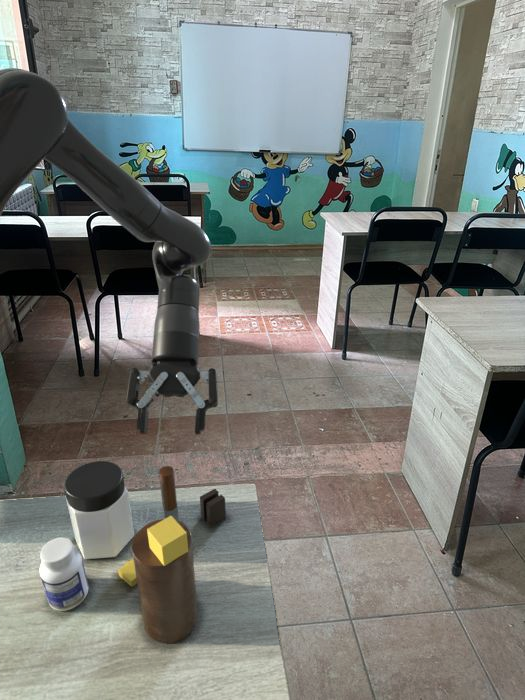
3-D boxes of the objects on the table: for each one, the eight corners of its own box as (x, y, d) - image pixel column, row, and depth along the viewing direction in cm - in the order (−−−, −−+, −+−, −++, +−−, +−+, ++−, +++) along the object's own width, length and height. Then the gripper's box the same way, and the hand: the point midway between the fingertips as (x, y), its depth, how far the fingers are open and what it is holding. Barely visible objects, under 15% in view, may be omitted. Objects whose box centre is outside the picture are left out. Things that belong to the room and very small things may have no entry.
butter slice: (117, 570, 68) (131, 581, 67) (136, 555, 71) (149, 566, 69) (118, 575, 69) (132, 587, 67) (136, 561, 71) (150, 572, 69)
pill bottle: (56, 578, 68) (43, 533, 64) (93, 577, 68) (83, 532, 64) (42, 613, 64) (28, 566, 60) (82, 612, 64) (70, 565, 60)
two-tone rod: (162, 528, 77) (155, 470, 71) (175, 520, 78) (169, 463, 73) (169, 536, 75) (162, 478, 70) (182, 528, 77) (177, 471, 71)
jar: (104, 510, 80) (93, 453, 75) (144, 526, 77) (135, 467, 72) (63, 550, 73) (48, 489, 67) (106, 569, 70) (94, 507, 64)
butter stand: (134, 614, 63) (121, 538, 57) (179, 584, 68) (172, 510, 61) (161, 655, 59) (150, 577, 52) (208, 620, 63) (203, 543, 57)
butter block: (149, 547, 56) (146, 528, 55) (173, 533, 58) (171, 515, 57) (164, 566, 54) (162, 547, 52) (188, 551, 56) (186, 532, 54)
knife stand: (201, 517, 79) (199, 496, 77) (215, 508, 80) (214, 488, 78) (210, 527, 77) (209, 506, 75) (225, 518, 79) (225, 497, 77)
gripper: (128, 328, 77) (118, 430, 71) (217, 328, 77) (214, 430, 72) (139, 344, 84) (131, 437, 79) (220, 344, 84) (218, 437, 79)
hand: (170, 433), depth 75 cm, fingers open, 8 cm apart
